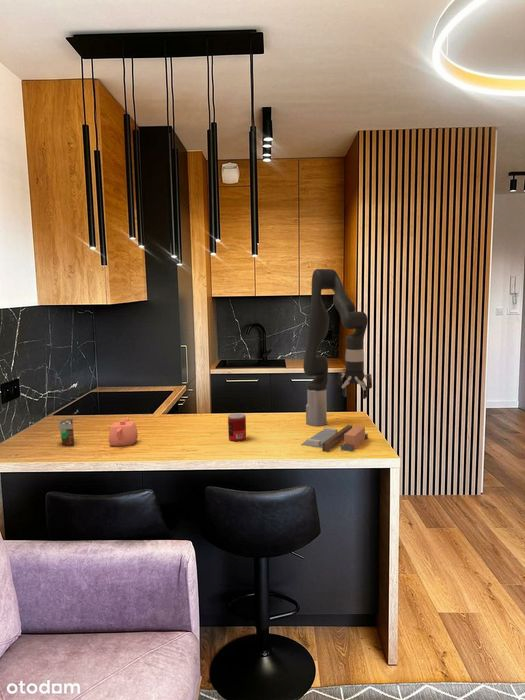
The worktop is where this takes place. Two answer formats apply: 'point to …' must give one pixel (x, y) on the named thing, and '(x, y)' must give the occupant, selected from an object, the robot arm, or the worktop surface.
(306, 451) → the worktop surface
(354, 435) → the bar
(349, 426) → the door edge
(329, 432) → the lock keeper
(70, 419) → the food container
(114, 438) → the teapot
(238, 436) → the canned food
